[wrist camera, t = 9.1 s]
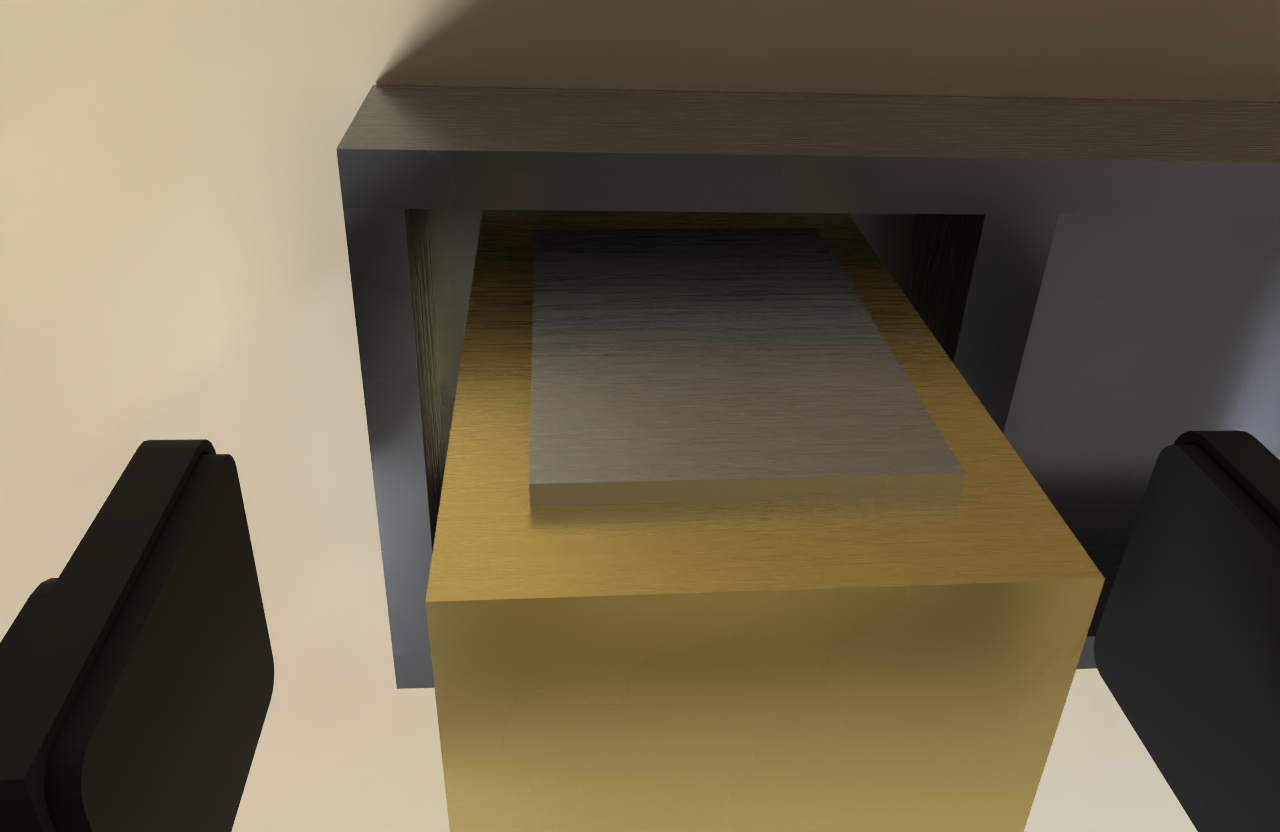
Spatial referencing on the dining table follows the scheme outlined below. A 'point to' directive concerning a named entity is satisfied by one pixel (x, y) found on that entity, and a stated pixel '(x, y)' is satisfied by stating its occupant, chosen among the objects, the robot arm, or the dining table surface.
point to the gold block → (734, 545)
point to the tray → (895, 229)
